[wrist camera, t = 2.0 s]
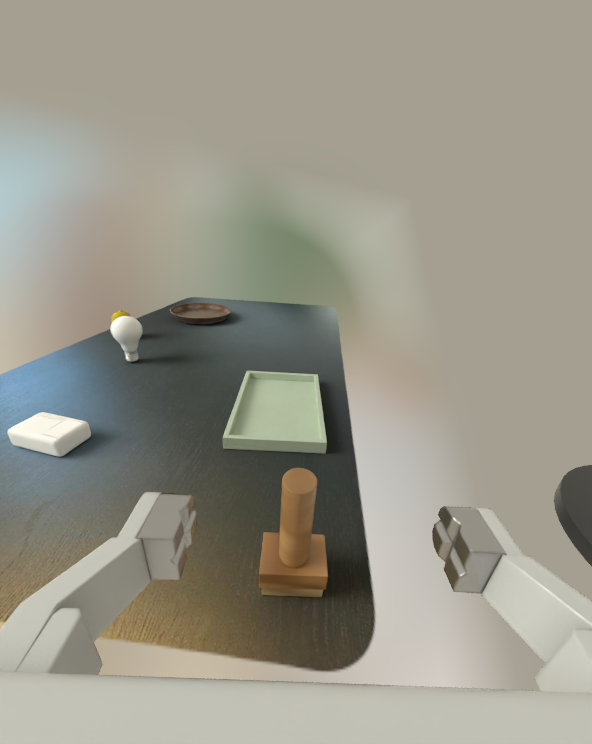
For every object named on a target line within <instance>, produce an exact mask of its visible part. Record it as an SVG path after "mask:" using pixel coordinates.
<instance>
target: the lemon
mask: <svg viewBox="0 0 592 744" xmlns="http://www.w3.org/2000/svg"><path fill="white" fill-rule="evenodd" d="M121 316H130V315H129V314H128V313H127V312H124V311H122V310H119V311H118V312H116V313H114V314H113V316H112V318H111V324H112V322H113V321H114V320H115V319H116V318H118V317H121ZM130 317H131V316H130Z"/></svg>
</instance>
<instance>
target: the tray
mask: <svg viewBox="0 0 592 744" xmlns="http://www.w3.org/2000/svg"><path fill="white" fill-rule="evenodd" d="M326 447H327V439H326V432H325V425H324V417H323V410H322V402H321V395H320V388H319V380H318V375H317V374H297V373H278V372H259V371H247V372H246V375H245V378H244V380H243V383H242V386H241V389H240V391H239V394H238V397H237V400H236V402H235V405H234V408H233V411H232V413H231V416H230V419H229V422H228V424H227V427H226V430H225V433H224V435H223V449H241V450H262V451H283V452H304V453H326Z"/></svg>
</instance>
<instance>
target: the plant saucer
mask: <svg viewBox="0 0 592 744" xmlns="http://www.w3.org/2000/svg"><path fill="white" fill-rule="evenodd" d="M170 312H171V313H172V315H173V316H174V317H175V318H177V319H178V320H180V321H182V322H185V323H189V324H213V323H218V322H221V321H223V320H224V319H226V318H227V317H228V316H229V314H230V312H231V309H230V308H228V307H226V306H222V305H217V304H209V303H191V304H183V305H178V306H175V307H172V308H171V309H170Z"/></svg>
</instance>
